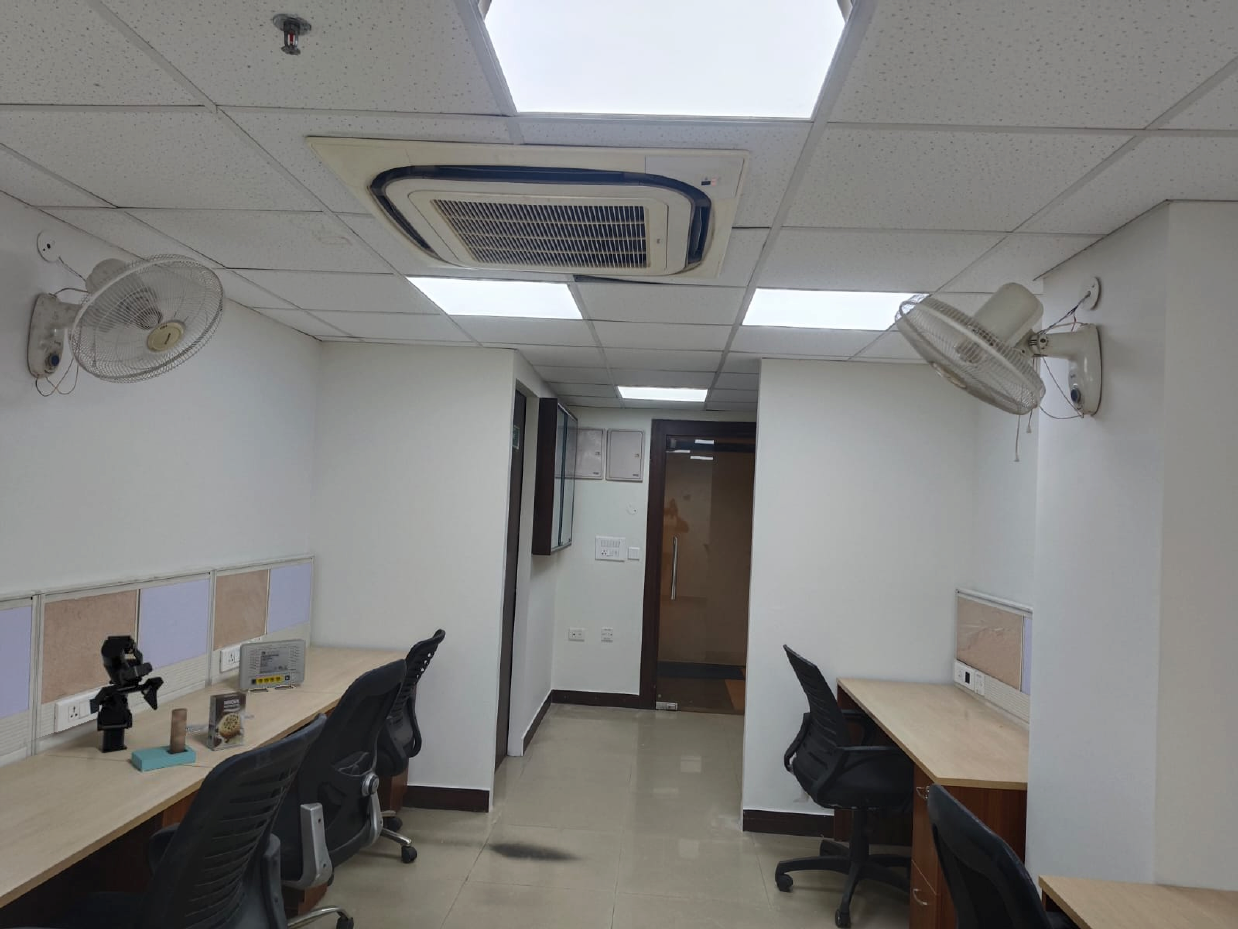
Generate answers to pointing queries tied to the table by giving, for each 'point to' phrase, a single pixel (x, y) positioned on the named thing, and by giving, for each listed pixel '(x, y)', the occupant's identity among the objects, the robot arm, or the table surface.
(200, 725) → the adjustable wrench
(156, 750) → the holder block
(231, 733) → the brown cookie box
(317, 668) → the table surface
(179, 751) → the peg
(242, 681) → the network device
